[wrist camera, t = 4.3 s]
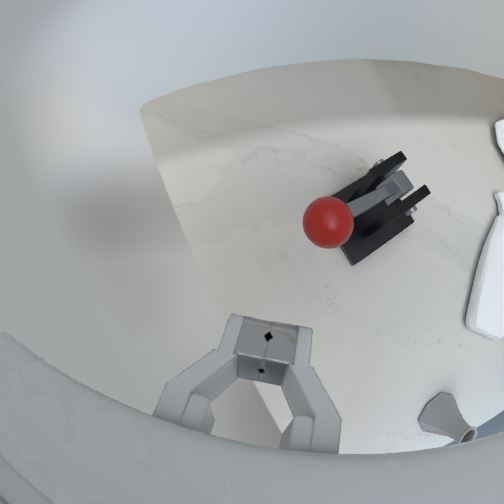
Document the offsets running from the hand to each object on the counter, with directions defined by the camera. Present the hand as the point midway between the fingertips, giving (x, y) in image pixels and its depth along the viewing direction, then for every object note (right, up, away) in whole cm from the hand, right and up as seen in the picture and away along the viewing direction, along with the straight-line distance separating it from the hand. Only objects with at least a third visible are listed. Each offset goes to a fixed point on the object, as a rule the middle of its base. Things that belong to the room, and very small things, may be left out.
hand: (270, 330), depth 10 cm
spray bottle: (+40, +1, +21) cm, 45 cm away
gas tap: (+15, +8, +25) cm, 30 cm away
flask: (+28, -22, +19) cm, 41 cm away
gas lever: (+8, +6, +13) cm, 16 cm away
